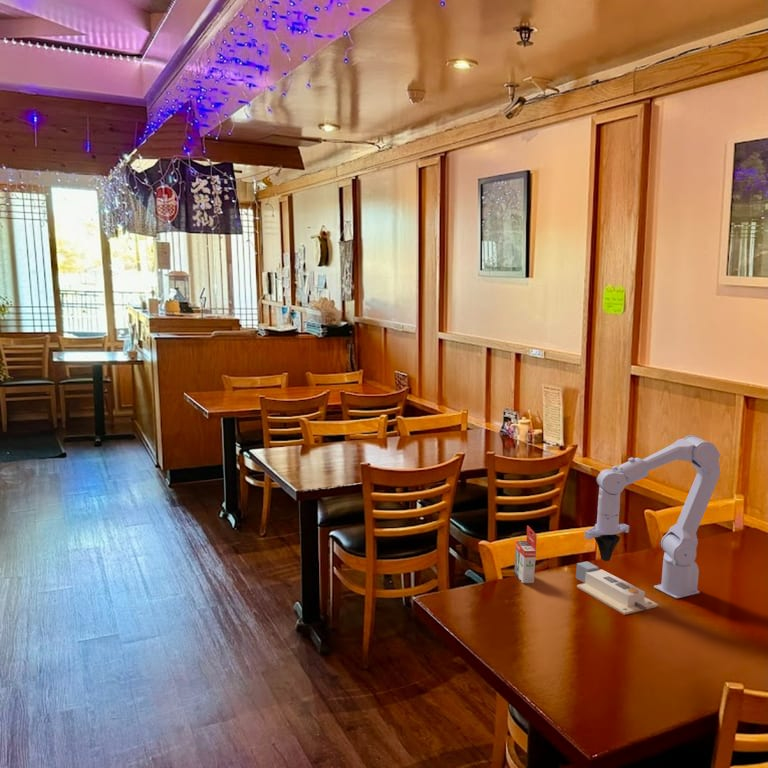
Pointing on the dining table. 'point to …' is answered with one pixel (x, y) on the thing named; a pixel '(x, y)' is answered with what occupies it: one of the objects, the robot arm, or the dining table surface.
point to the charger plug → (584, 570)
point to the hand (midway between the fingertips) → (605, 559)
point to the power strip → (615, 592)
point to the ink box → (526, 557)
